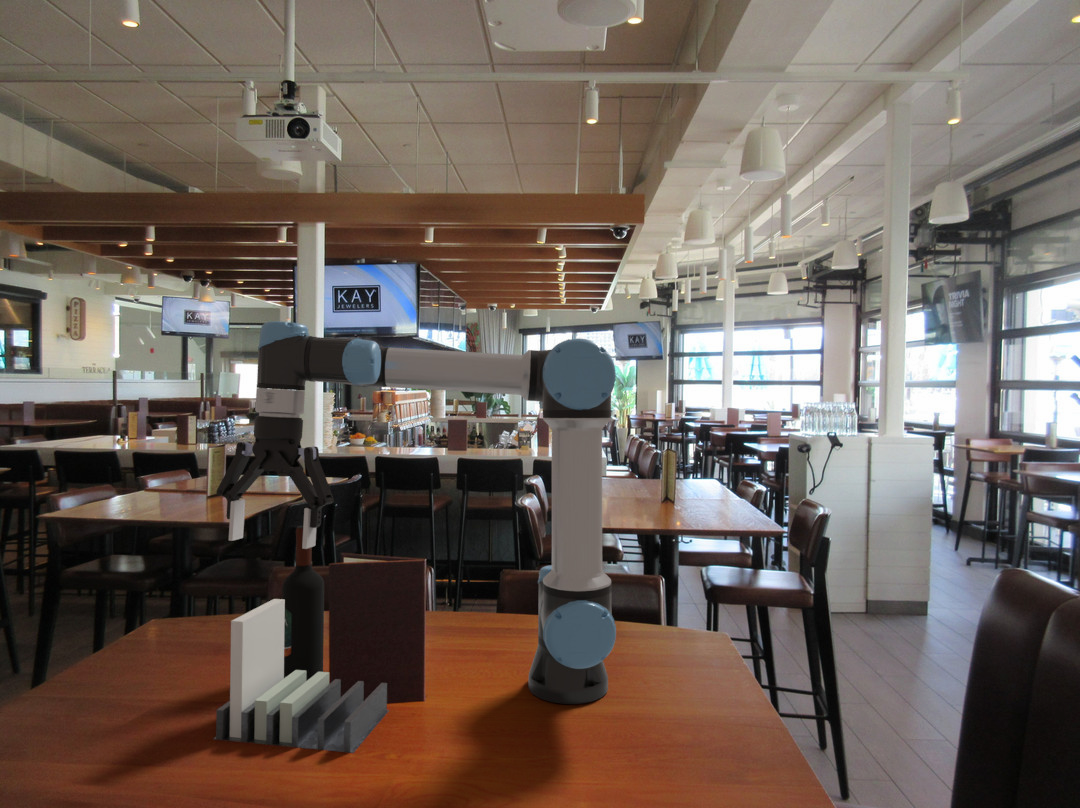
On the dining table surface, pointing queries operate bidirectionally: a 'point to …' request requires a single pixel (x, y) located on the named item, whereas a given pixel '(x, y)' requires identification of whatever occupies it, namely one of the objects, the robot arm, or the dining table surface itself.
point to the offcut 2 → (299, 702)
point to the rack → (317, 720)
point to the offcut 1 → (275, 700)
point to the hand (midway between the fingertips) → (271, 543)
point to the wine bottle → (303, 615)
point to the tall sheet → (255, 657)
